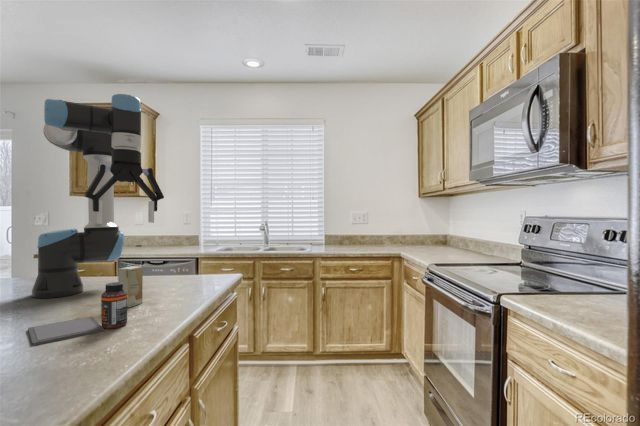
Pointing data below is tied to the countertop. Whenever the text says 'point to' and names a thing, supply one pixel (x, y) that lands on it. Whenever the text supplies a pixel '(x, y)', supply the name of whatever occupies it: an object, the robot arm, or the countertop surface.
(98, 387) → the countertop surface
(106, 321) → the supplement bottle
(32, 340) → the coaster
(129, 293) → the skincare box
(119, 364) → the countertop surface
